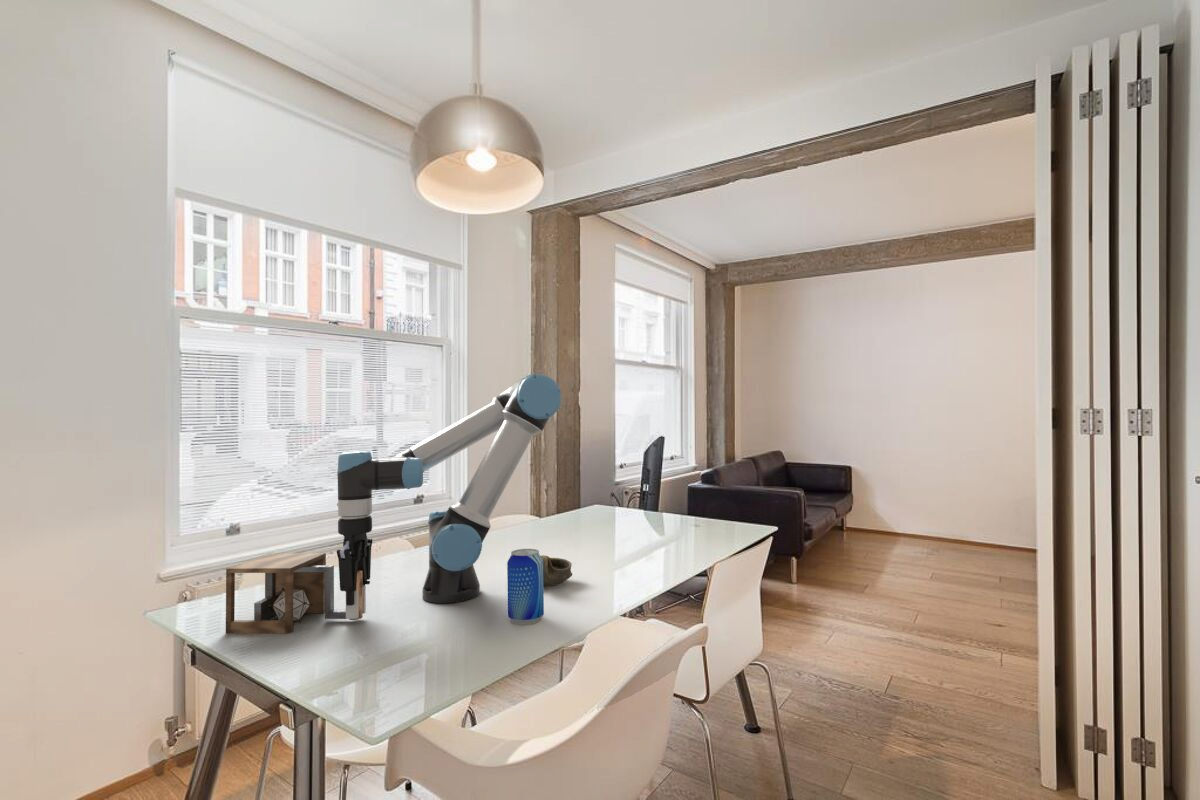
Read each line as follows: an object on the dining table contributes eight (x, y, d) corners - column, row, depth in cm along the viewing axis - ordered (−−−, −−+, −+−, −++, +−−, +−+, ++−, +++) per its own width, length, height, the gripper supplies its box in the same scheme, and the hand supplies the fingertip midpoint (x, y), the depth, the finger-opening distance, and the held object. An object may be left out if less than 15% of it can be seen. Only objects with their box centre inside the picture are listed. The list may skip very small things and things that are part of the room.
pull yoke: (371, 610, 143) (371, 560, 143) (351, 625, 133) (351, 571, 133) (280, 610, 144) (280, 561, 145) (254, 624, 134) (254, 571, 135)
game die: (292, 640, 136) (282, 614, 131) (267, 623, 139) (257, 597, 134) (323, 612, 143) (315, 586, 137) (299, 596, 146) (290, 570, 140)
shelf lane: (325, 611, 146) (325, 553, 146) (290, 633, 130) (290, 568, 131) (267, 611, 147) (268, 553, 147) (225, 633, 131) (226, 568, 132)
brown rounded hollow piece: (575, 577, 174) (574, 544, 174) (566, 595, 156) (565, 557, 157) (530, 577, 175) (529, 544, 175) (516, 594, 157) (516, 557, 158)
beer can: (549, 616, 139) (548, 548, 140) (534, 627, 131) (533, 556, 132) (518, 612, 142) (517, 546, 143) (501, 624, 134) (500, 554, 135)
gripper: (355, 511, 147) (356, 605, 146) (322, 522, 131) (322, 627, 130) (384, 510, 146) (385, 604, 146) (354, 521, 130) (355, 627, 130)
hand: (355, 615), depth 138 cm, fingers closed on pull yoke, 3 cm apart
